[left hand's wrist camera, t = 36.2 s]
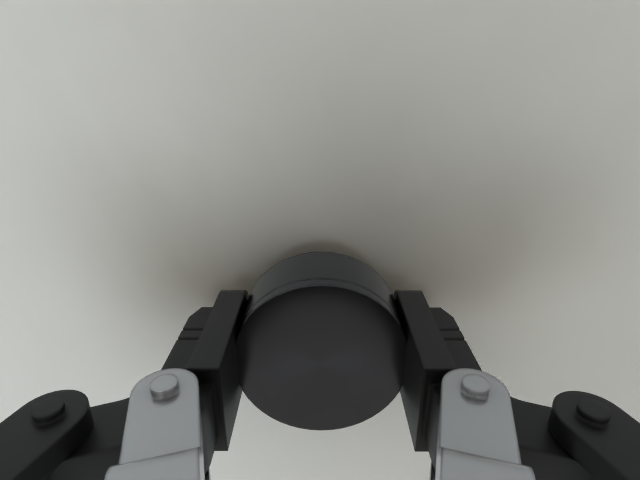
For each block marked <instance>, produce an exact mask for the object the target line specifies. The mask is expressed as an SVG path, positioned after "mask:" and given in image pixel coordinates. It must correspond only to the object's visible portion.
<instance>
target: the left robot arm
mask: <svg viewBox="0 0 640 480" xmlns="http://www.w3.org/2000/svg"><path fill="white" fill-rule="evenodd" d="M248 298H249V297H248V292H247V290H221V291H220V293H219V295H218V297H217V300H216V302H215V304H214V306H213V307H201V308H200V309H199V310H198V311H196V312H195V313H194V314H193V315H191V316H190V317H189V318H188V320H187V322H186V324H185V326H184V328H183V331H182V332H181V334H180V335H179V337H178V340H177V341H176V343H175V345H174V347H173V349H172V351H171V352H170V354H169V356H168V358H167V360H166V362H165V364H164V366H163V368H162V369H161V370H160V371H157V372H154V373H152V374H150V375H148V376H146V377H144V378H143V379H142V380H140V381H139V382H138V383H137V384H136V385H135V386H134V388H133V389H132V391H131V394H130V397H129V398H127V399H124V400H120V401H116V402H112V403H107V404H103V405H98V406H94V407H90V405H89V401H88V398H87V396H86V395H85V394H83V393H82V392H79V391H76V390H60V391H55V392H51V393H48V394H45V395H42V396H40V397H38V398H35V399H34V400H32V401H30V402H28V403H27V404H25V405H24V406H23V407H21V408H20V409H19V410H17V411H16V412H15V413H13V414H12V415H11V416H9V417H8V418H7V419H5V420H4V421H3V422H1V423H0V480H211V478H210V469H209V467H210V464H211V460H212V457H213V453H214V451H228V448H229V444H230V439H231V435H232V431H233V427H234V423H235V419H236V415H237V410H238V406H239V402H240V398H241V394H242V388H241V387H240V385H239V376H238V364H237V353H236V337H237V333H238V330H239V327H240V324H241V320H242V317H243V314H244V311H245V308H246V304H247V301H248ZM394 300H395V303H396V306H397V310H398V313H399V316H400V319H401V322H402V325H403V328H404V331H405V335H406V338H407V346H406V357H405V368H404V379H403V386H402V387H401V389H400V393H401V397H402V401H403V405H404V409H405V413H406V417H407V421H408V425H409V429H410V433H411V437H412V441H413V445H414V449H415V451H429V454H430V457H431V469H430V478H429V480H640V423H639V422H637V421H636V420H635V419H633V418H632V417H631V416H629V415H628V414H627V413H625V412H624V411H623V410H621V409H620V408H619V407H617V406H616V405H614V404H613V403H611V402H609V401H608V400H606V399H603V398H601V397H599V396H596V395H593V394H590V393H586V392H580V391H567V392H563V393H560V394H558V395H557V396H556V397H555V398H554V401H553V404H552V408H551V407H547V406H542V405H538V404H533V403H529V402H525V401H521V400H518V399H515V398H512V397H510V394H509V391H508V389H507V388H506V386H505V385H504V384H503V383H502V382H501V381H500V380H498V379H497V378H496V377H494V376H492V375H490V374H488V373H486V372H483V371H482V370H481V368H480V366H479V364H478V363H477V361H476V359H475V357H474V355H473V353H472V351H471V350H470V348H469V346H468V344H467V342H466V341H465V340H464V337H463V335H462V333H461V331H459V327H458V325H457V324H456V322H455V320H454V318H453V317H452V316H451V315H449V314H448V313H447V312H446V311H444V310H443V309H442V308H429V306H428V303H427V301H426V299H425V297H424V295H423V293H422V291H395V293H394Z"/></svg>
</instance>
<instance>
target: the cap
mask: <svg viewBox="0 0 640 480" xmlns="http://www.w3.org/2000/svg"><path fill="white" fill-rule="evenodd" d="M406 346H407V338H406V335H405V331H404V328H403V325H402V322H401V319H400V316H399V313H398V310H397V306H396V303H395V300H394V297H393V295H392V293H391V291H390V289H389V287H388V285H387V284H386V283H385V281H384V280H383V279H382V278H381V277H380V275H379V274H378V273H377V272H375V271H374V270H373V269H372V268H370V267H369V266H367V265H366V264H364V263H363V262H361V261H359V260H356V259H354V258H352V257H350V256H347V255H342V254H337V253H332V252H311V253H305V254H300V255H297V256H294V257H290V258H288V259H286V260H284V261H281V262H280V263H278V264H277V265H275V266H273V267H272V268H271V269H269V270H268V271H267V272H266V273H265V274H264V275H263V276H262V277H261V278H260V279H259V280H258V282H257V283H256V284H255V286H254V287H253V289H252V291H251V293H250V295H249V298H248V301H247V304H246V308H245V311H244V314H243V317H242V320H241V324H240V327H239V330H238V333H237V337H236V353H237V364H238V376H239V385H240V387H241V388H242V390H243V392H244V393H245V395H246V396H247V397H248V399H249V400H250V401H251V402H252V403H253V404H254V405H255V406H256V407H257V408H258V409H260V410H261V411H262V412H264V413H265V414H267V415H268V416H270V417H271V418H273V419H275V420H277V421H279V422H282V423H284V424H287V425H290V426H294V427H297V428H302V429H309V430H333V429H340V428H345V427H349V426H353V425H355V424H358V423H361V422H363V421H365V420H367V419H369V418H371V417H373V416H374V415H376V414H377V413H379V412H380V411H382V410H383V409H384V408H385V407H386V406H388V405H389V403H390V402H391V401H392V400H393V399H394V398H395V397H396V395H397V394H398V392H399V391H400V389H401V387H402V386H403V379H404V368H405V357H406Z"/></svg>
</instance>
